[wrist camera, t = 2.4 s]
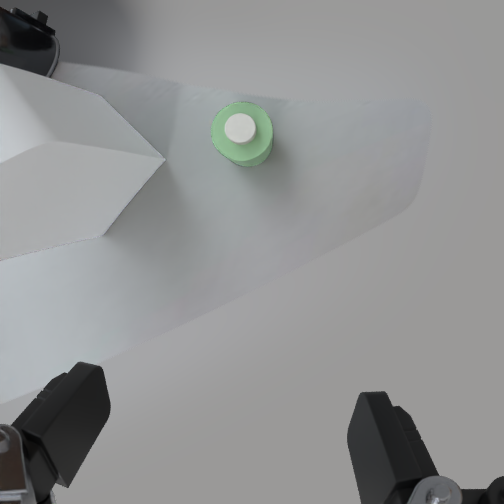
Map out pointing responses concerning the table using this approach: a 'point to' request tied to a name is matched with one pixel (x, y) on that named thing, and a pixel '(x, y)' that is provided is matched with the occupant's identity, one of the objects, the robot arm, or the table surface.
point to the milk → (63, 163)
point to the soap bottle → (243, 133)
